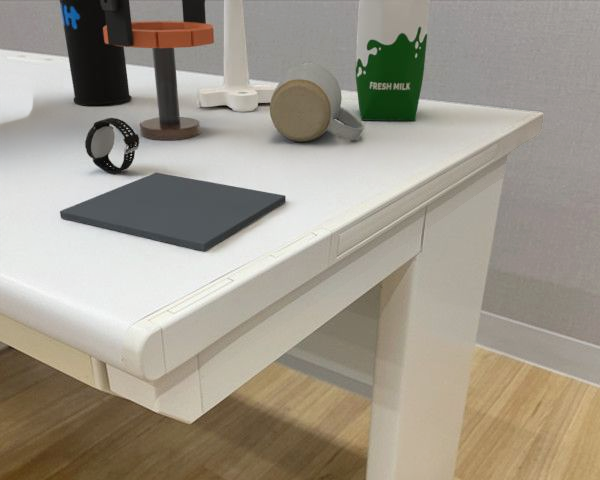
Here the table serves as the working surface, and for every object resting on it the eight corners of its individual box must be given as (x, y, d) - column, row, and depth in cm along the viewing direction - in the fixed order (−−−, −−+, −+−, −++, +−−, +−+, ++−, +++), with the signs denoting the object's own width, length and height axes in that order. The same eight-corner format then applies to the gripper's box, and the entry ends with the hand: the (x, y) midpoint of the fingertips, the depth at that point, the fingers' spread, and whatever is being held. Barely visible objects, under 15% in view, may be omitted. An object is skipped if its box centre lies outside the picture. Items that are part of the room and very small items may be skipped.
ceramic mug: (266, 143, 72) (266, 71, 68) (279, 126, 79) (279, 61, 75) (360, 148, 70) (365, 76, 67) (364, 131, 78) (369, 65, 74)
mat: (60, 218, 51) (59, 211, 50) (156, 178, 60) (156, 172, 60) (204, 251, 45) (203, 243, 45) (285, 202, 54) (285, 195, 54)
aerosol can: (130, 94, 98) (113, -55, 88) (132, 104, 91) (114, -56, 81) (74, 96, 96) (51, -56, 86) (72, 107, 89) (46, -57, 79)
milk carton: (414, 108, 89) (428, -54, 80) (423, 123, 81) (440, -56, 72) (351, 107, 90) (358, -55, 80) (354, 122, 82) (362, -57, 72)
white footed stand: (269, 99, 94) (267, -54, 85) (285, 109, 88) (285, -56, 79) (195, 104, 91) (184, -56, 82) (207, 114, 85) (196, -57, 75)
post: (128, 135, 75) (116, 35, 69) (166, 124, 80) (157, 29, 75) (176, 143, 72) (167, 38, 67) (211, 130, 77) (206, 32, 72)
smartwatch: (120, 162, 65) (113, 112, 62) (147, 174, 61) (141, 121, 59) (82, 170, 62) (74, 118, 60) (108, 182, 59) (100, 128, 56)
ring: (81, 42, 69) (79, 26, 68) (154, 33, 78) (153, 19, 78) (168, 51, 64) (167, 34, 63) (234, 39, 74) (234, 25, 73)
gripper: (75, -237, 50) (110, 53, 60) (242, -181, 69) (247, 32, 79) (8, -228, 53) (52, 48, 63) (186, -176, 72) (197, 28, 82)
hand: (160, 39), depth 71 cm, fingers closed on ring, 12 cm apart
